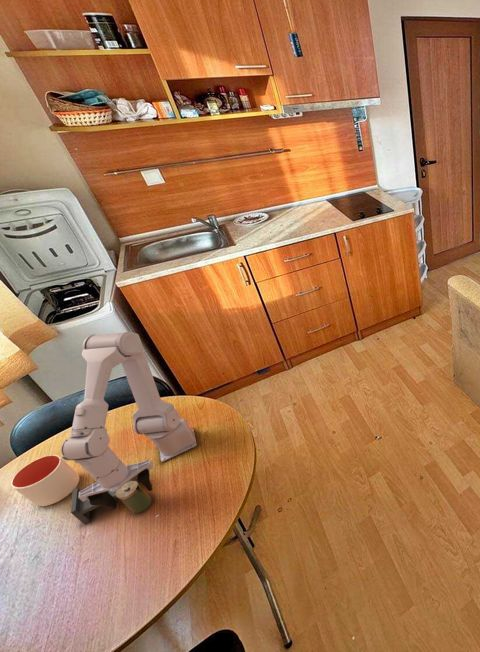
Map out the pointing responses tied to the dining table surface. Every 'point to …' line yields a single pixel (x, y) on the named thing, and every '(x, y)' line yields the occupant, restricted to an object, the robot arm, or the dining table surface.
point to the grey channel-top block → (86, 504)
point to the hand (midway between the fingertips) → (133, 496)
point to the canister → (134, 496)
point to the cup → (45, 480)
